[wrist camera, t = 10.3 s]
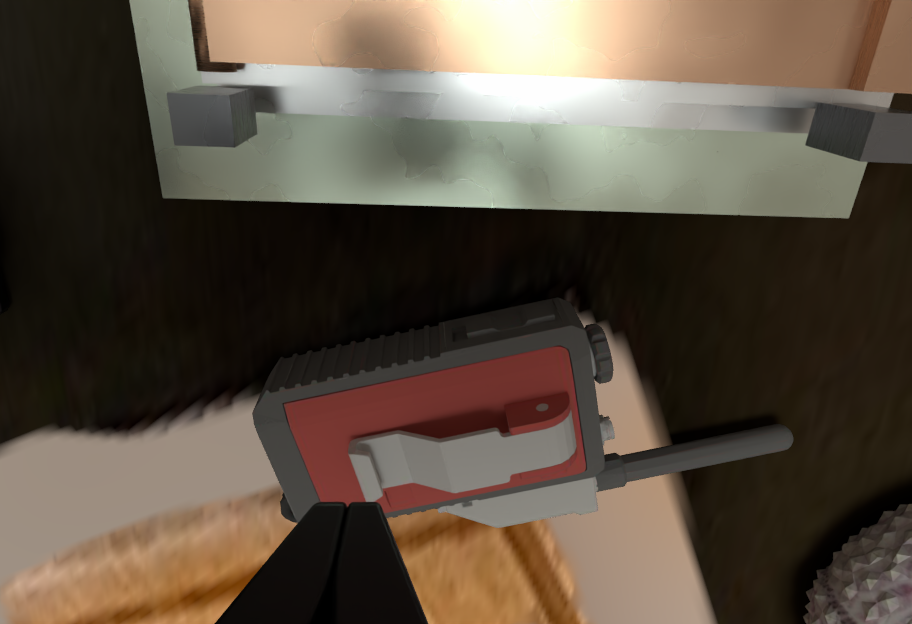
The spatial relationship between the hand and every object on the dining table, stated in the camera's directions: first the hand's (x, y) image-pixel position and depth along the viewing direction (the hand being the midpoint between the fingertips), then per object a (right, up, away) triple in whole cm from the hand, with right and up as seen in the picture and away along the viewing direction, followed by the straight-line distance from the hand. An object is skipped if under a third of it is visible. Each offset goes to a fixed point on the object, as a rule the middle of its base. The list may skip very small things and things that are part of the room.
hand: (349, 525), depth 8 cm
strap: (+4, +9, +5) cm, 11 cm away
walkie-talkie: (+4, 0, +16) cm, 16 cm away
